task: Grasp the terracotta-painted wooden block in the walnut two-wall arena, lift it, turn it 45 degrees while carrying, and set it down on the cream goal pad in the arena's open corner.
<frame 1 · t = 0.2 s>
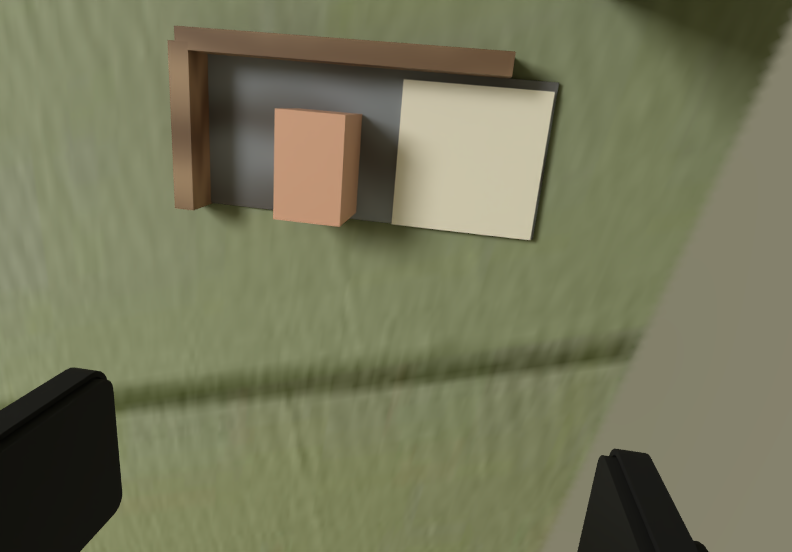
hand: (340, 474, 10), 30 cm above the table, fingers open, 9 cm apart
arena: (372, 137, 38), on the table
goal pad: (468, 161, 37), resting on arena
block: (328, 161, 39), resting on arena
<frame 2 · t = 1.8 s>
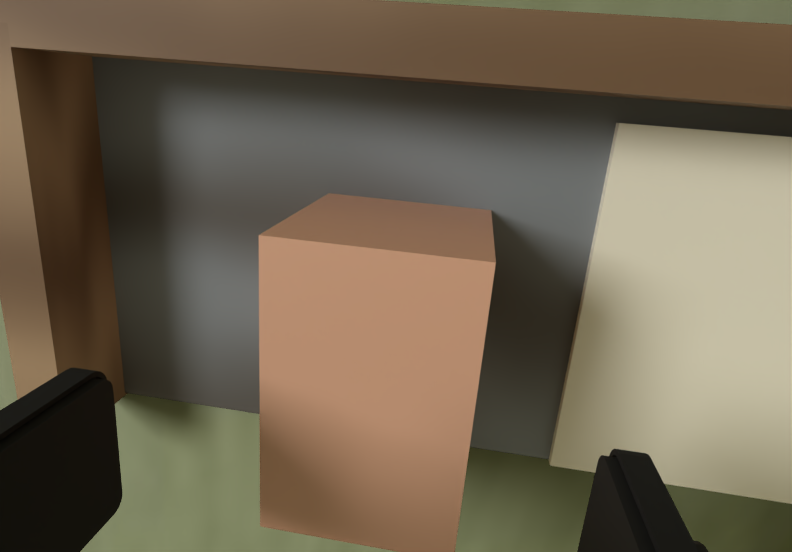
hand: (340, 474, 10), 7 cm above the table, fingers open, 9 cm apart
arena: (510, 263, 15), on the table
goal pad: (771, 332, 14), resting on arena
block: (398, 318, 16), resting on arena
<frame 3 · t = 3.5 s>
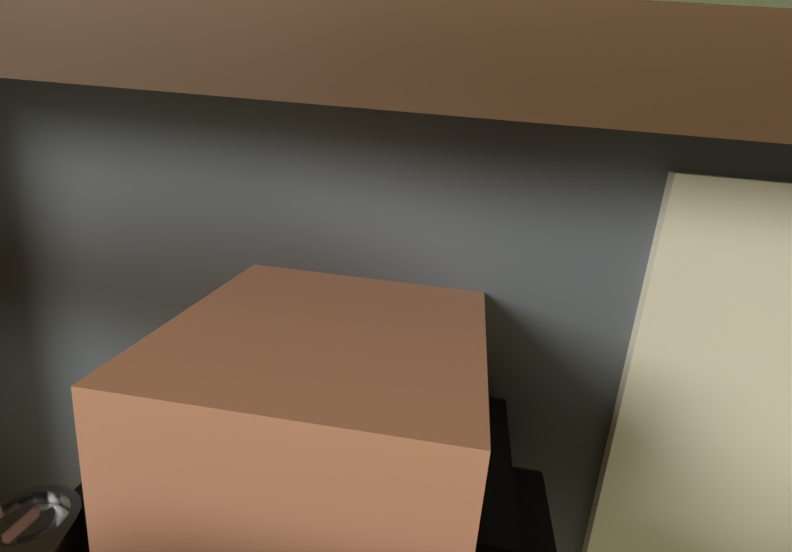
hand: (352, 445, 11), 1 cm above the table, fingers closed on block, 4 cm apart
arena: (512, 363, 11), on the table
block: (355, 435, 11), resting on arena, touching gripper
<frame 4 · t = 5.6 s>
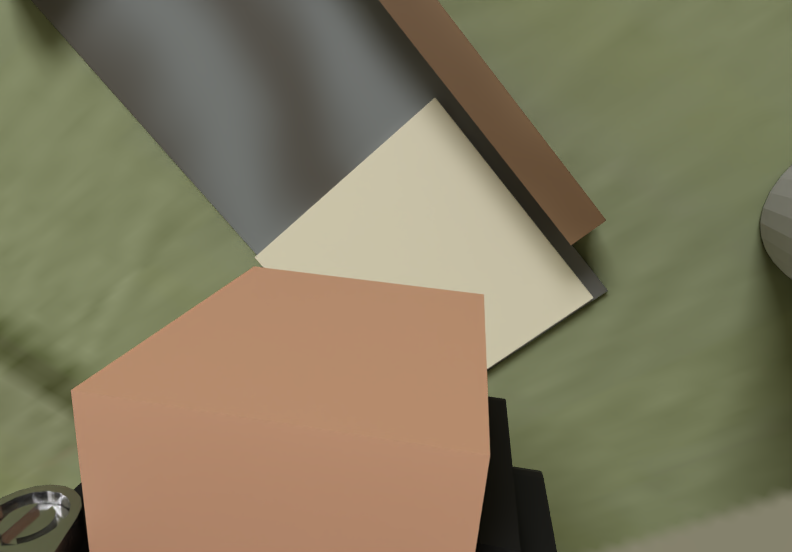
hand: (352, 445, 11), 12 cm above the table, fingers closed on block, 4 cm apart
arena: (327, 126, 21), on the table
goal pad: (418, 274, 22), resting on arena
block: (355, 437, 11), point 12 cm above the table, touching gripper
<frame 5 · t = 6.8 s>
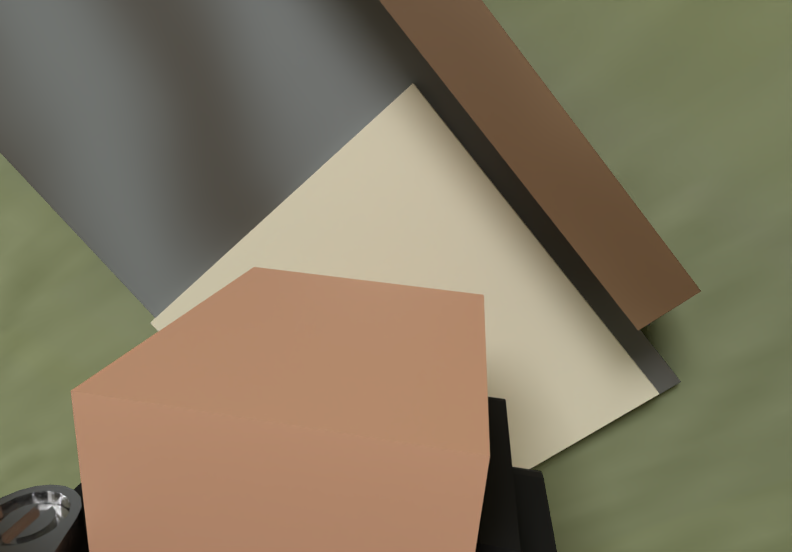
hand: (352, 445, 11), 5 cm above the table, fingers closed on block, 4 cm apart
arena: (250, 129, 14), on the table
goal pad: (391, 351, 15), resting on arena
block: (355, 437, 11), point 4 cm above the table, touching gripper
when the fingers open (2 cm above the table, at t = 8.0 s): block drops 2 cm, resting on goal pad.
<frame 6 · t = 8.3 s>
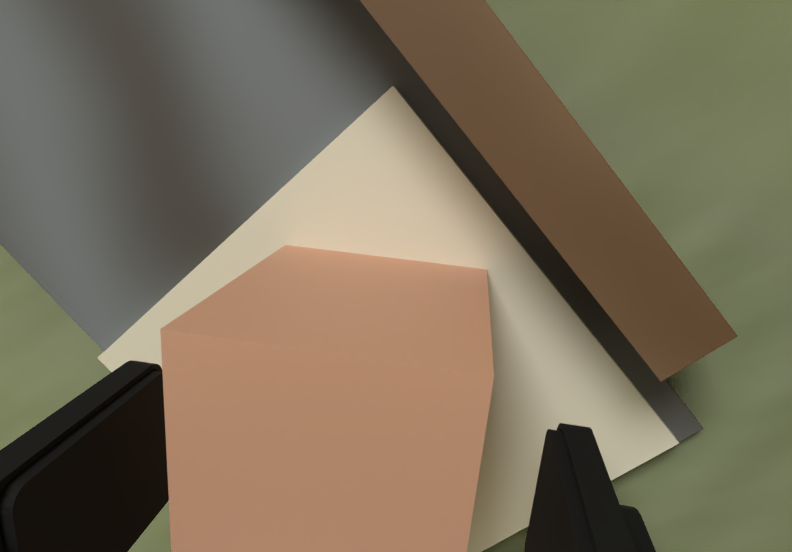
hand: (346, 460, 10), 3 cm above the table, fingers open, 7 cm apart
arena: (208, 138, 12), on the table
goal pad: (372, 391, 13), resting on arena
block: (372, 397, 13), point 1 cm above the table, touching goal pad
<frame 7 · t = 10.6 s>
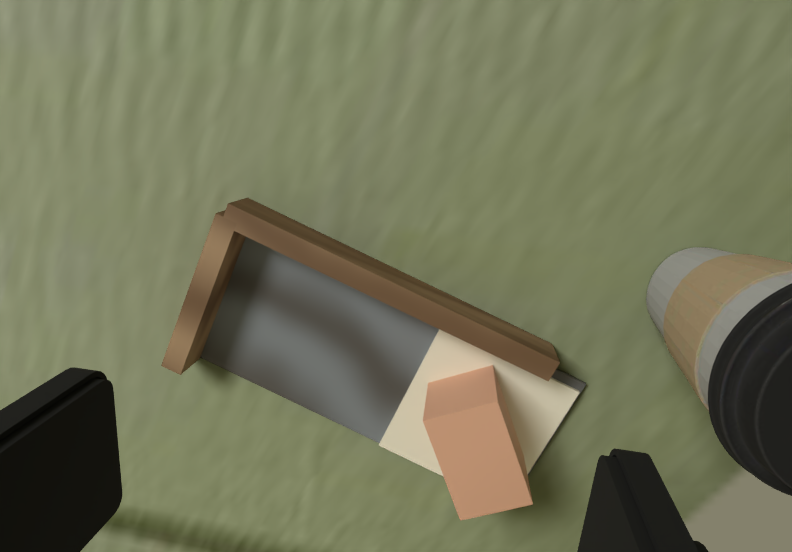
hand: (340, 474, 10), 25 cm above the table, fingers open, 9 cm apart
arena: (389, 359, 36), on the table
goal pad: (475, 417, 36), resting on arena
coffee cup: (694, 290, 33), on the table
block: (476, 419, 36), point 1 cm above the table, touching goal pad
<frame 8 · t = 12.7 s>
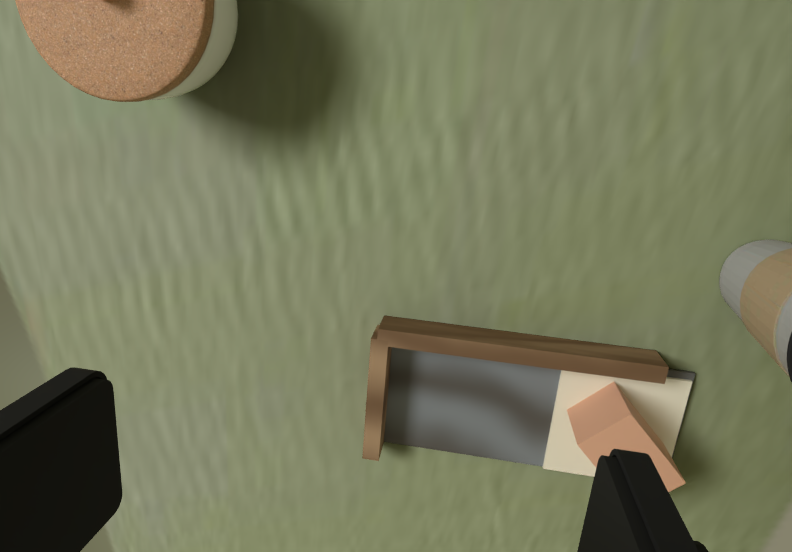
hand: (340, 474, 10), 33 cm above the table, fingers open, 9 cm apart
arena: (529, 400, 45), on the table
goal pad: (613, 425, 45), resting on arena
coffee cup: (759, 274, 40), on the table
block: (614, 426, 44), point 1 cm above the table, touching goal pad
lidded bowl: (186, 17, 41), on the table
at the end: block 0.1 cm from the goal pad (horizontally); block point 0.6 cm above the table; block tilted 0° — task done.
